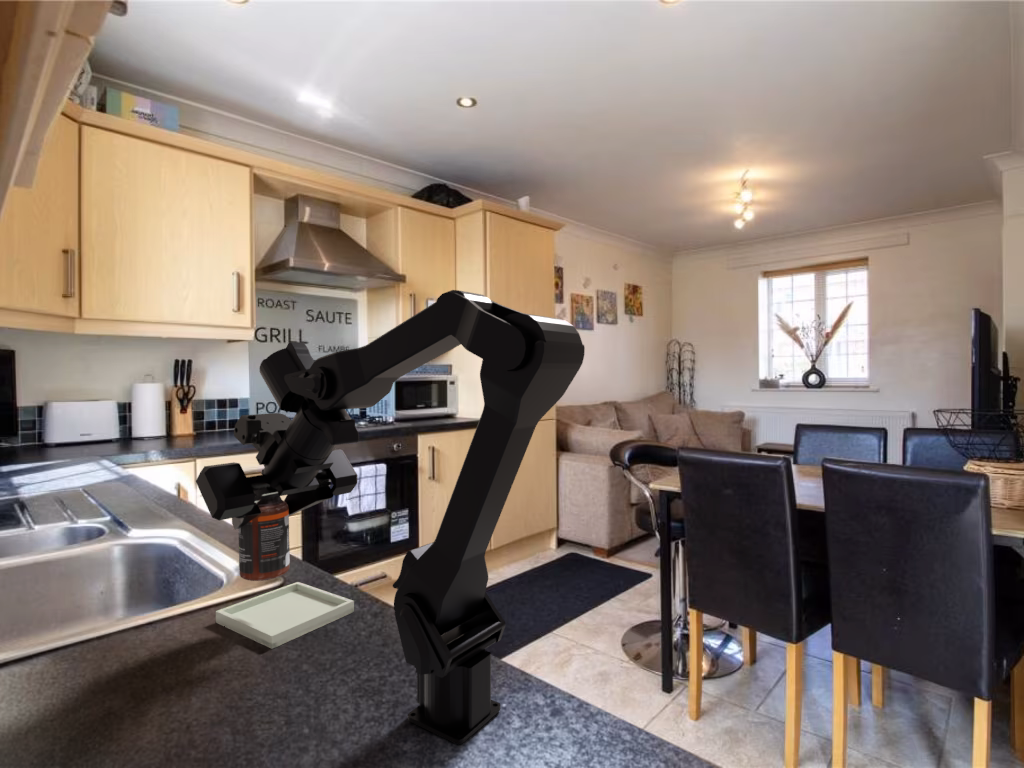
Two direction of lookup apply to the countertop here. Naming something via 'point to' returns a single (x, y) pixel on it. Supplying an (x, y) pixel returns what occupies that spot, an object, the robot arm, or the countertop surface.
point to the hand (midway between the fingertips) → (258, 520)
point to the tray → (284, 613)
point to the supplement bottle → (265, 541)
